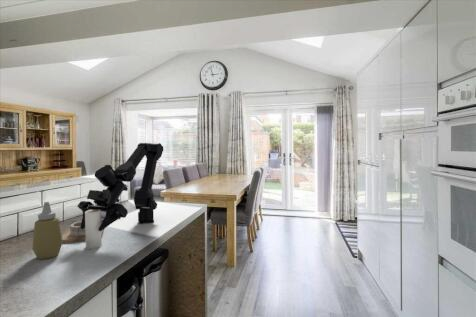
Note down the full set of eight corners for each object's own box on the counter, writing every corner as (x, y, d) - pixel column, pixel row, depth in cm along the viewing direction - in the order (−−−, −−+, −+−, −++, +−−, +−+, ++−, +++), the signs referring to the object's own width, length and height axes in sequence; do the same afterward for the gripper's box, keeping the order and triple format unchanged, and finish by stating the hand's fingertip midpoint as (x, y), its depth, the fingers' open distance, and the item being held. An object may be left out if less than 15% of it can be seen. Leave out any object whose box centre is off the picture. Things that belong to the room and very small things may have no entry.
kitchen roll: (102, 242, 96) (101, 208, 95) (100, 247, 91) (100, 212, 91) (86, 244, 94) (86, 210, 93) (84, 250, 89) (84, 213, 89)
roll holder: (104, 227, 113) (104, 217, 113) (101, 238, 101) (101, 226, 100) (67, 231, 108) (66, 220, 107) (59, 243, 95) (59, 231, 95)
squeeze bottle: (43, 251, 88) (41, 199, 87) (67, 250, 89) (66, 199, 88) (26, 261, 80) (24, 205, 79) (53, 260, 81) (51, 205, 80)
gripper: (80, 180, 98) (54, 216, 87) (122, 182, 93) (98, 220, 83) (97, 196, 106) (74, 231, 95) (136, 199, 101) (116, 236, 91)
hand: (90, 229), depth 91 cm, fingers open, 8 cm apart
